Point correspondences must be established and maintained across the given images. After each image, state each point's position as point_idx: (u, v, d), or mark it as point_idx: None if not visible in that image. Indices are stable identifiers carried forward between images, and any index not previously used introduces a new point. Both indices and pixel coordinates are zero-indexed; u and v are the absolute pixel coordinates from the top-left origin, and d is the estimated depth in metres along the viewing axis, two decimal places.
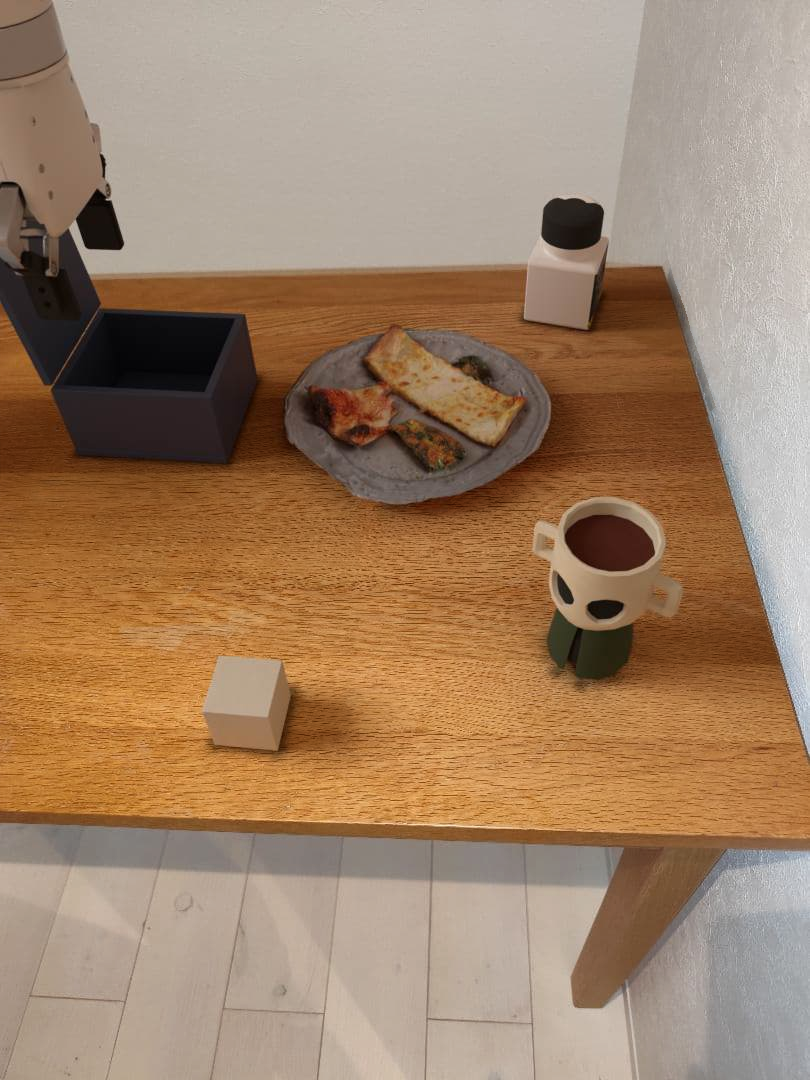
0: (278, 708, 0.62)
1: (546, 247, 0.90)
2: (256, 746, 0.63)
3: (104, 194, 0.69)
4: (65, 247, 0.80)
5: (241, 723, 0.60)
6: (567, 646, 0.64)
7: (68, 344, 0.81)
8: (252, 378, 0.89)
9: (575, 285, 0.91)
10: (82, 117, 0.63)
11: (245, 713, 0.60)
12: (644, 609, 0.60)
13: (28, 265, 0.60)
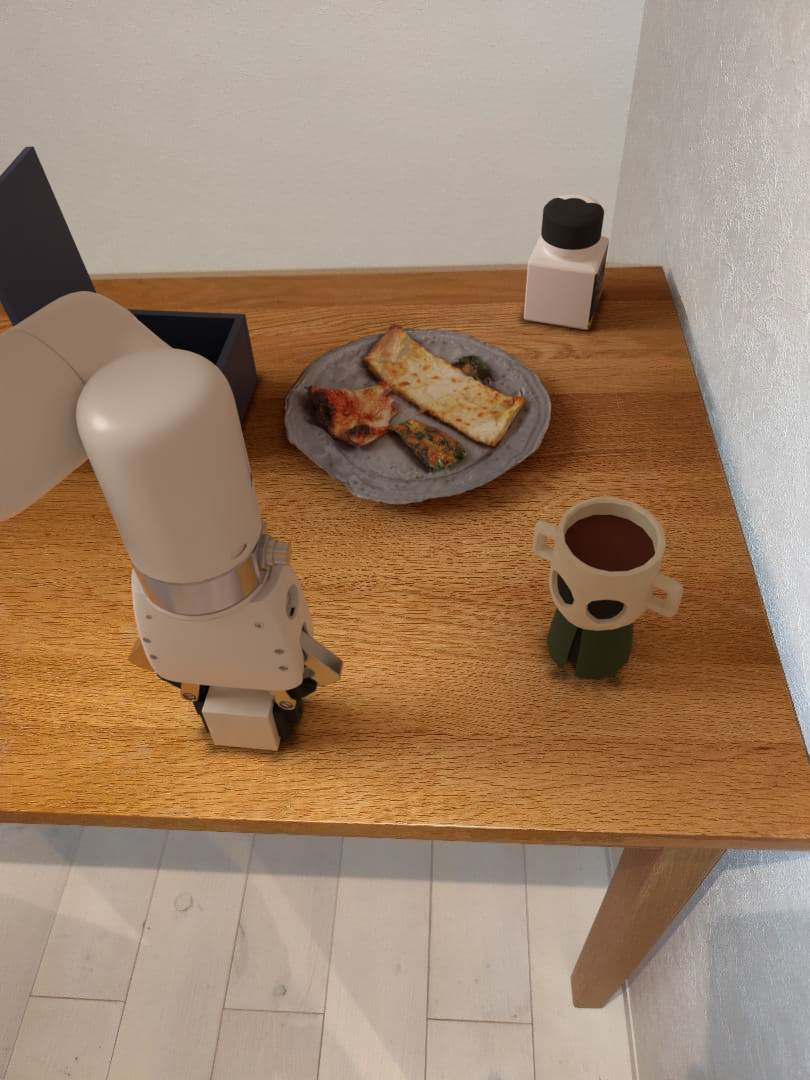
0: None
1: (546, 247, 0.90)
2: (256, 746, 0.63)
3: (276, 701, 0.60)
4: (65, 247, 0.80)
5: (241, 723, 0.60)
6: (567, 646, 0.64)
7: None
8: (252, 378, 0.89)
9: (575, 285, 0.91)
10: (262, 650, 0.53)
11: (245, 713, 0.60)
12: (644, 609, 0.60)
13: (158, 675, 0.60)
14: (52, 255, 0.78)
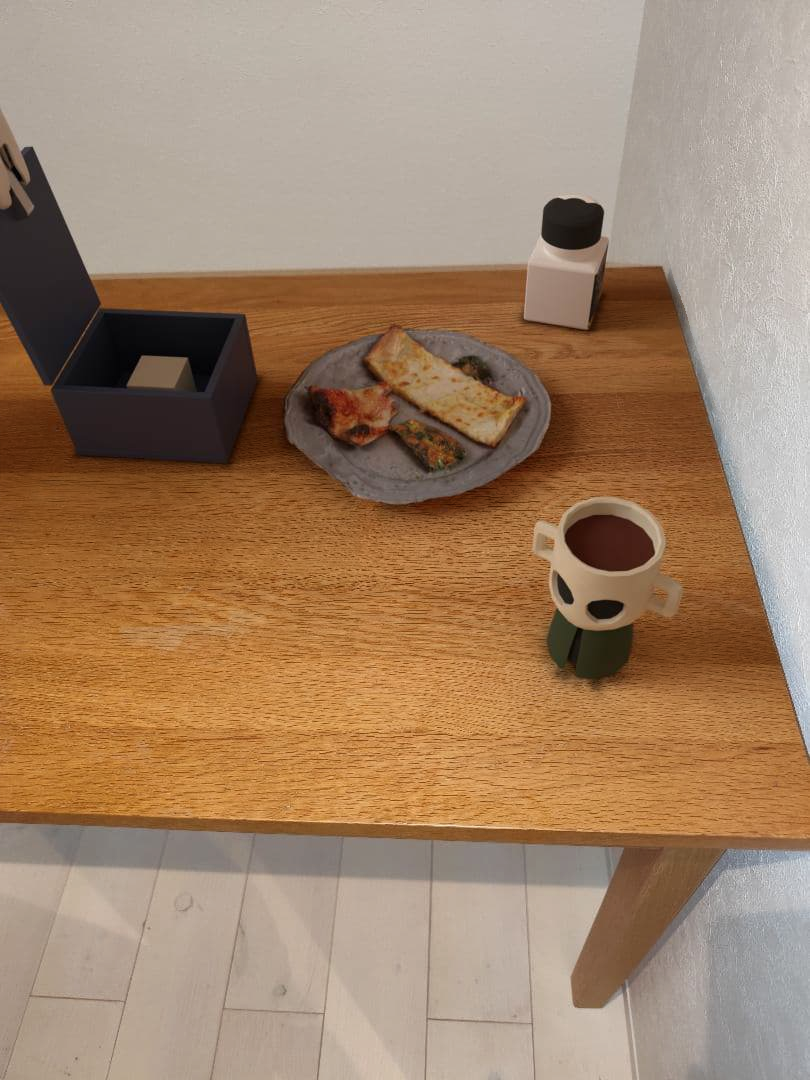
0: None
1: (546, 247, 0.90)
2: None
3: None
4: (64, 247, 0.80)
5: None
6: (567, 646, 0.64)
7: (68, 344, 0.81)
8: (252, 378, 0.89)
9: (575, 285, 0.91)
10: None
11: (158, 385, 0.82)
12: (644, 609, 0.60)
13: None
14: (52, 255, 0.78)
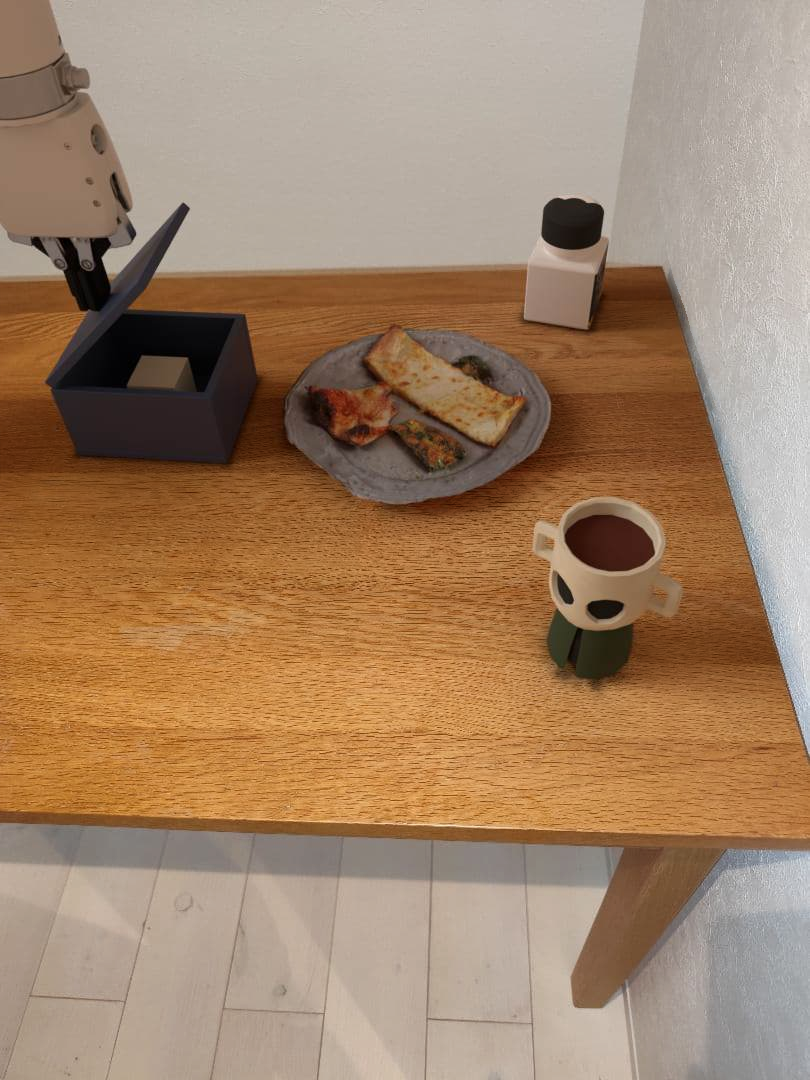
0: None
1: (546, 247, 0.90)
2: None
3: (79, 258, 0.74)
4: None
5: None
6: (567, 646, 0.64)
7: None
8: (252, 378, 0.89)
9: (575, 285, 0.91)
10: (76, 179, 0.68)
11: (158, 385, 0.82)
12: (644, 609, 0.60)
13: (33, 244, 0.74)
14: None
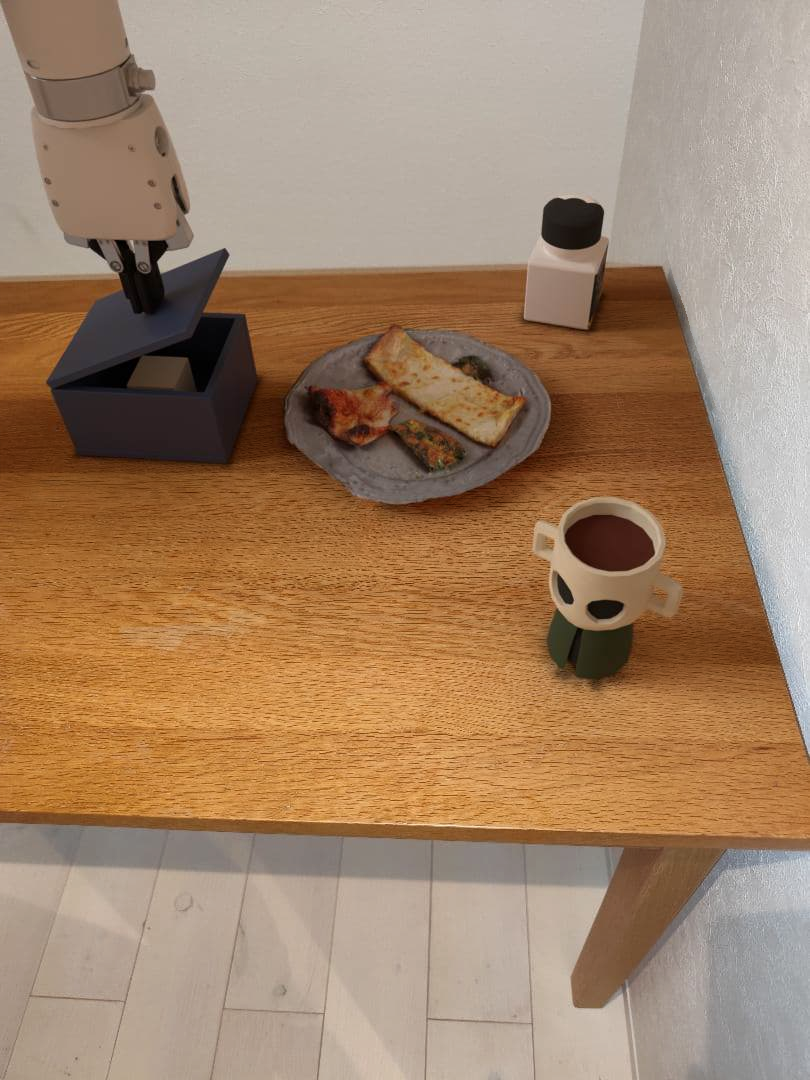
0: None
1: (546, 247, 0.90)
2: None
3: (136, 260, 0.73)
4: None
5: None
6: (567, 646, 0.64)
7: None
8: (252, 378, 0.89)
9: (575, 285, 0.91)
10: (138, 181, 0.67)
11: (158, 385, 0.82)
12: (644, 609, 0.60)
13: (90, 246, 0.73)
14: None
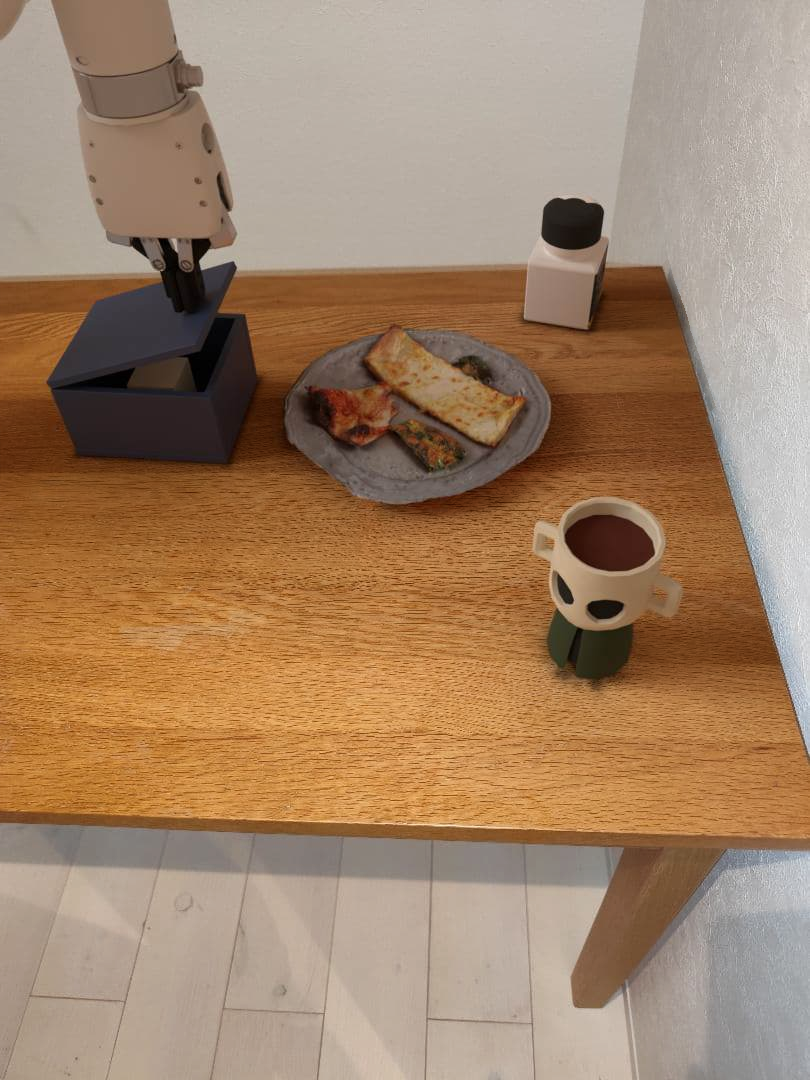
0: None
1: (546, 247, 0.90)
2: None
3: (179, 259, 0.73)
4: None
5: None
6: (567, 646, 0.64)
7: None
8: (252, 378, 0.89)
9: (575, 285, 0.91)
10: (184, 179, 0.66)
11: (158, 385, 0.82)
12: (644, 609, 0.60)
13: (132, 245, 0.73)
14: None
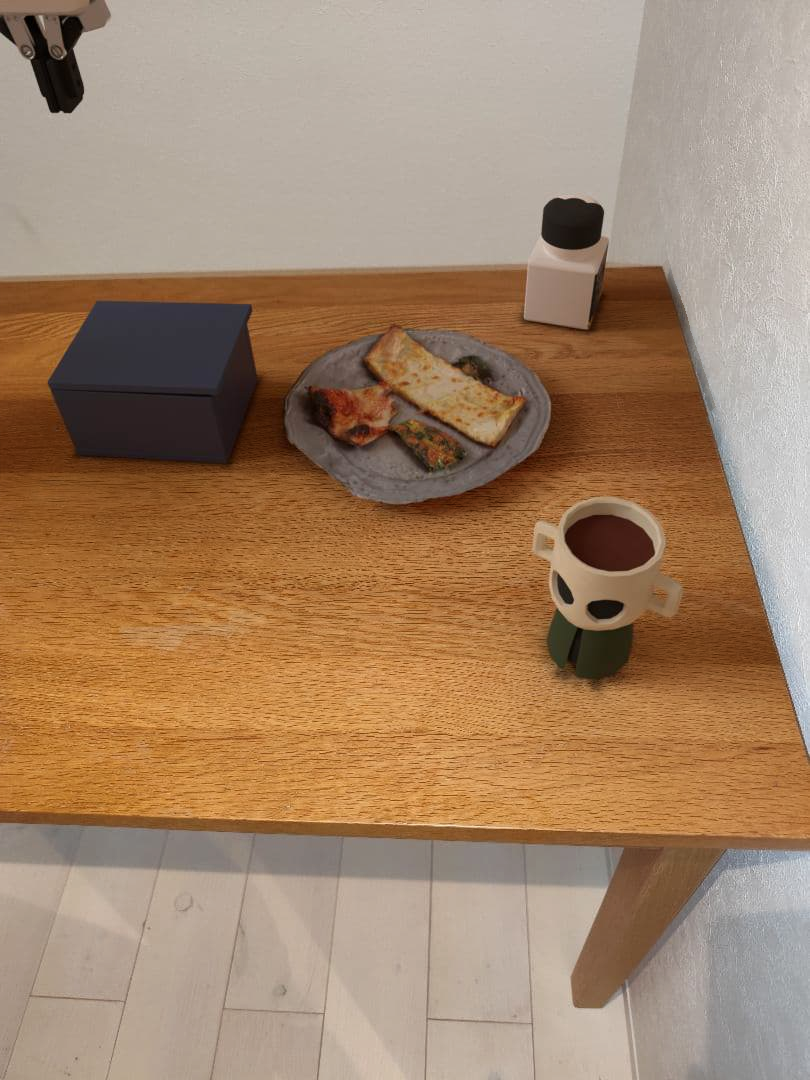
0: None
1: (546, 247, 0.90)
2: None
3: (48, 43, 0.67)
4: None
5: None
6: (567, 646, 0.64)
7: None
8: (252, 378, 0.89)
9: (575, 285, 0.91)
10: None
11: None
12: (644, 609, 0.60)
13: None
14: None
